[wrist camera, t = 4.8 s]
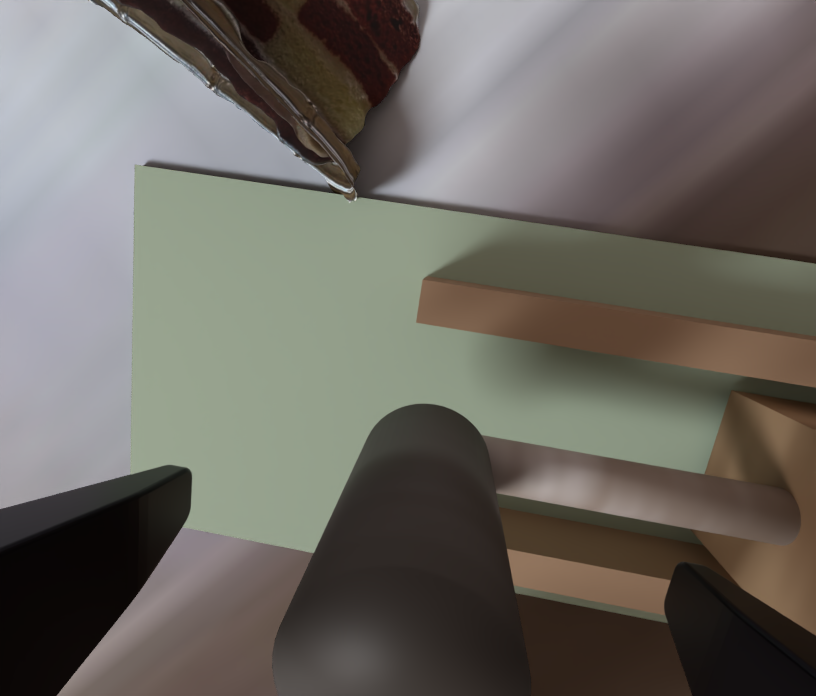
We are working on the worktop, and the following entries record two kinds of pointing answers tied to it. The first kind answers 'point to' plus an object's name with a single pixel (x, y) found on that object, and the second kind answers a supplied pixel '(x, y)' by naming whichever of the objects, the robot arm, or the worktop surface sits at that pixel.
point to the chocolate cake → (289, 63)
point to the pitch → (442, 360)
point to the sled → (487, 553)
